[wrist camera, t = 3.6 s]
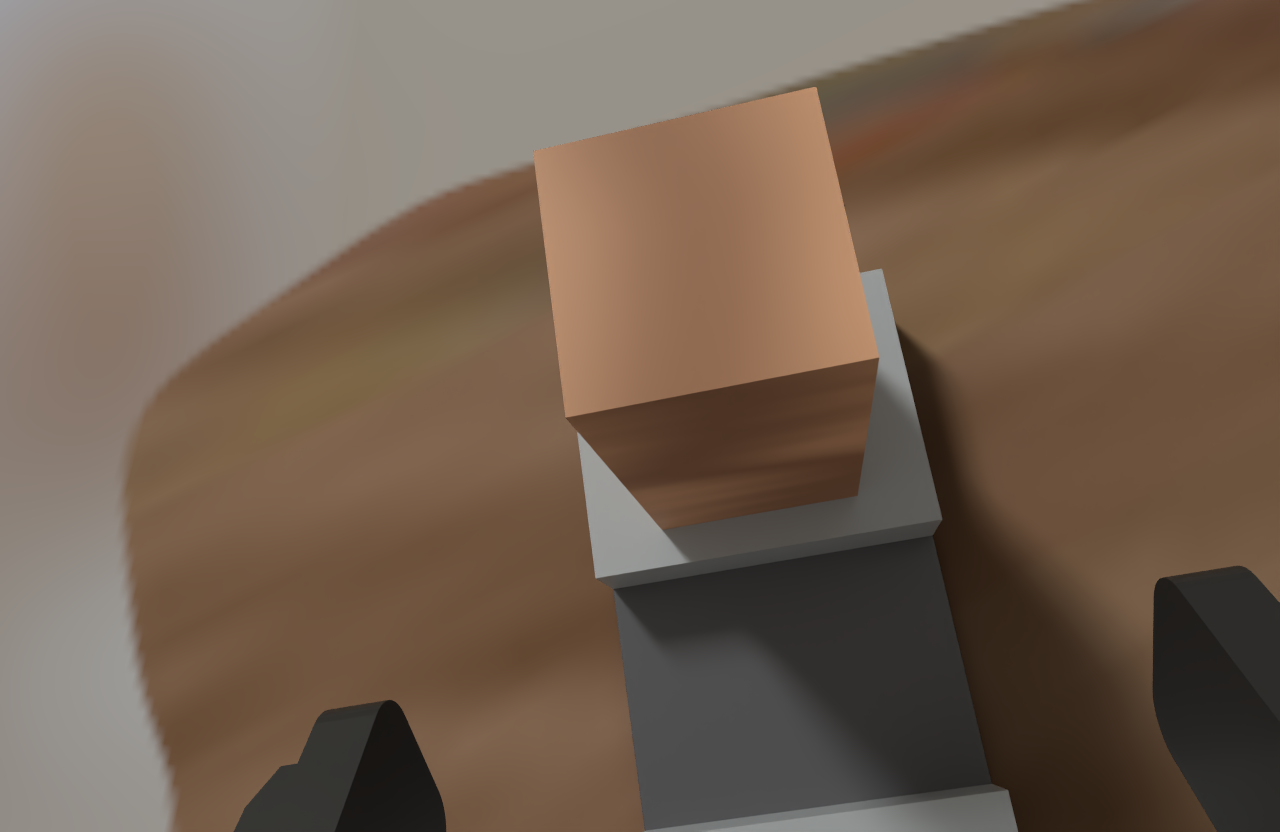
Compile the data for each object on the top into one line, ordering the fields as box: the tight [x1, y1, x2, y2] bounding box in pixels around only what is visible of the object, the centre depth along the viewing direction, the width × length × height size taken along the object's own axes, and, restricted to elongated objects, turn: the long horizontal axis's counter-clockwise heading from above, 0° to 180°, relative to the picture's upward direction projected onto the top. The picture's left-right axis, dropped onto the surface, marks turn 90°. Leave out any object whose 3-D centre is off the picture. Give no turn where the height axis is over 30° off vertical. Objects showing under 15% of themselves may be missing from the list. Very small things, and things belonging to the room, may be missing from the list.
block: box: [533, 87, 879, 530], centre depth 17 cm, size 4×4×8 cm
